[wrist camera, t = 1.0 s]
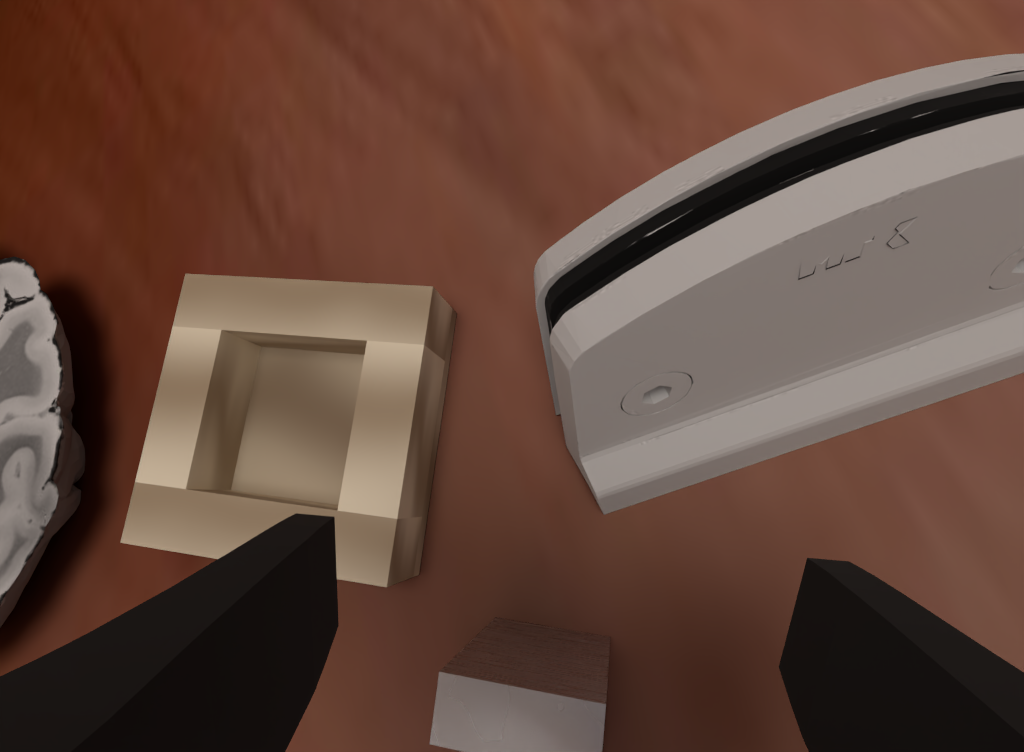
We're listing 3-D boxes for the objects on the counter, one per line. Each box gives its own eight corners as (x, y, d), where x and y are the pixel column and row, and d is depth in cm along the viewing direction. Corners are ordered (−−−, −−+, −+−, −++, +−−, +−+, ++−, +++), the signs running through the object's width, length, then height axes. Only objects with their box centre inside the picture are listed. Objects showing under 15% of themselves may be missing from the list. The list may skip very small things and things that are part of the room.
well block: (419, 574, 21) (386, 587, 18) (183, 537, 23) (120, 542, 20) (456, 313, 23) (433, 286, 20) (236, 299, 25) (185, 273, 22)
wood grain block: (495, 617, 20) (439, 671, 14) (610, 636, 19) (606, 704, 13) (481, 741, 19) (414, 859, 13) (599, 767, 18) (589, 906, 12)
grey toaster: (593, 518, 20) (516, 376, 12) (556, 408, 23) (473, 229, 15) (1082, 352, 18) (1387, 52, 10) (980, 254, 21) (1156, -47, 13)
